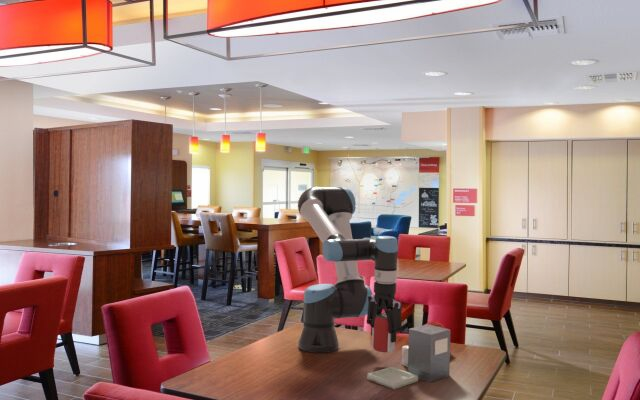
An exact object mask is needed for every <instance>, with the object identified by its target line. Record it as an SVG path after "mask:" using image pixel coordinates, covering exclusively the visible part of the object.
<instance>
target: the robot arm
mask: <svg viewBox="0 0 640 400" xmlns="http://www.w3.org/2000/svg"><path fill="white" fill-rule="evenodd" d="M356 205H357V203H356V198H355V195H354V193H353V192H352V190H351V189H349V188H347V187H342V186H333V187H332V186H312V187H310V188H307V189H305V191H303V192H302V193H301V194H300V196H299V198H298V201H297V209H298V213H299V214H300V216H301V218H302V219H304V220H306V221H307V222H308V223H309V225H310V226H311V228H312V229H313V231H314V232H315V234H316V235H317V237H318V238H319V240H320V242H321V243H322V247H321V253H322V256H323V259H324V261H326V262H334V264H335V265H334V266H335V272H336V278H337V281H336V282H335V283H334V284H333V283H320V284H319V283H318V284H313V285H310V286H308V287H307V288H305V290H304V293H303V294H304V295H303V327H302V330H301V333H300V338H299V340H298V348H299V350H301V351H304V352H307V353H315V354H316V353H317V354H318V353H320V354H323V353H324V354H325V353H330V352H331V353H332V352H335V351H337V350H339V348H340V347H339V343H340V342H339V339H338V336H337V333H336V329H335V320H336V319H347V318H356V319H357V318H359V317H360V318H361V317H366V316H367V317H366V324H367V325H369V326H370V336H371V347H373V344H374V320H375V317H376V314H380V313H382V312H383V310H384V313H386V315H387V320H388V324H389V329H390V332H388V349H387V352H386V353H392V352H394V351H395V347H396V341H397V333H398V332H399V333H400V332H402V331H403V330H402V306H403V302H401V301H400V302H399V301H397V300H396V298H395V297H396V296H395V295H396V293H397V283H396V282H397V278H398V277H397V272H398V271H397V267H398V254H399V253H398V252H399V251H398V250H399V247H398V246H399V245H398V238H397V237H395V236H390V235H379V236H377V237H376V238H373V237H363V238H357V239H356V238H355V239H354V238H353V235H352V228H351V223H350V222H351V220H352V218H353V215H354V214H355V212H356ZM358 261H373V262H374V276H373V277H374V282H373V291H372V289H371V287H370V286H369V285H366V284H365V280H364V279H363V278H362V277H360V273H359V267H358ZM373 292H374V293H375V294H374V295H373Z"/></svg>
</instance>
